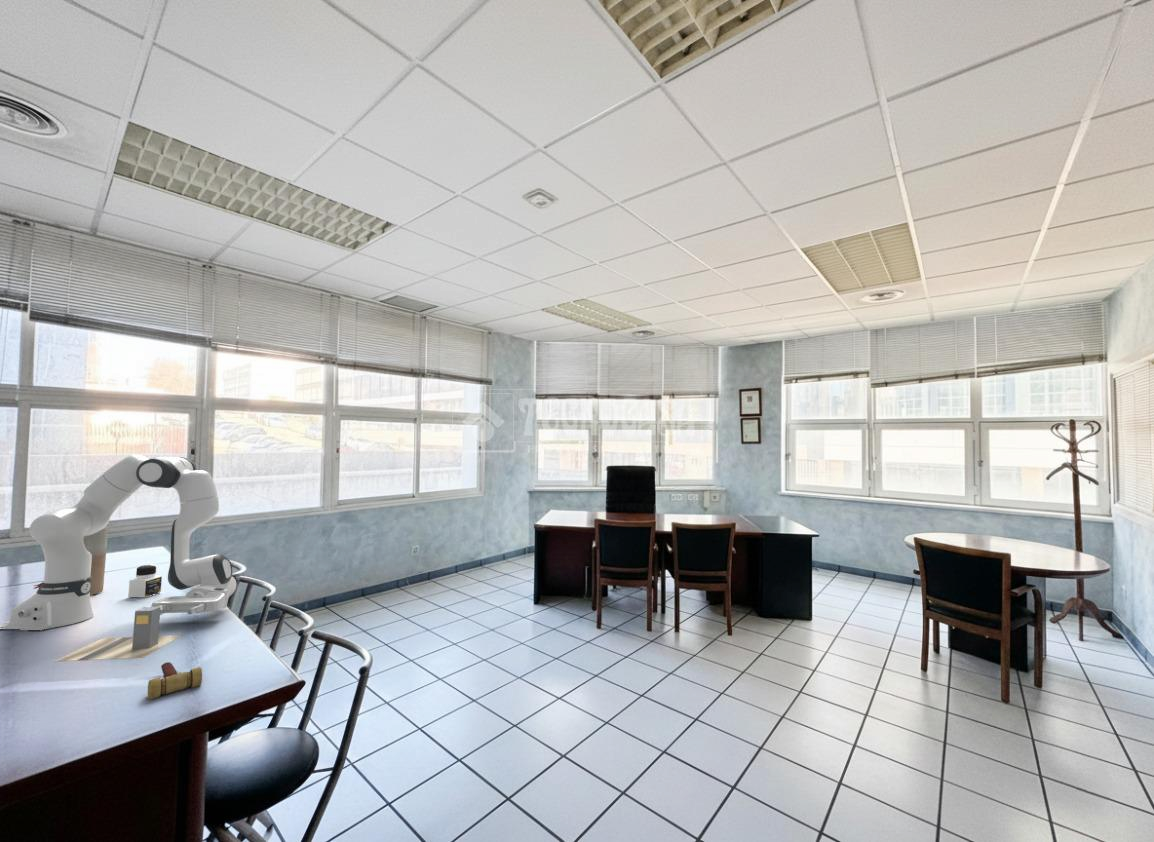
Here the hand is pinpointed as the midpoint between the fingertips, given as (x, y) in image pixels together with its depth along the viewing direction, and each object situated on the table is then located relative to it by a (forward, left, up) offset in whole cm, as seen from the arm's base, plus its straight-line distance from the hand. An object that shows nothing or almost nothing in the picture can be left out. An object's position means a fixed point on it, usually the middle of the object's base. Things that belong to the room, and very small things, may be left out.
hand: (173, 612), depth 151 cm
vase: (-63, +50, -8) cm, 81 cm away
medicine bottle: (-39, +46, -8) cm, 61 cm away
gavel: (+19, -31, -8) cm, 37 cm away
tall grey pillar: (0, -12, -6) cm, 13 cm away
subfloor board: (-6, -12, -8) cm, 15 cm away
